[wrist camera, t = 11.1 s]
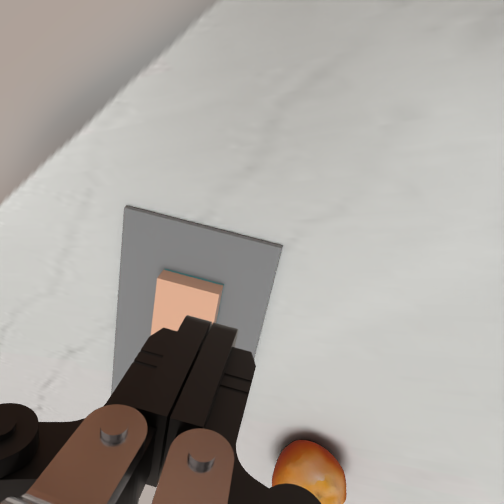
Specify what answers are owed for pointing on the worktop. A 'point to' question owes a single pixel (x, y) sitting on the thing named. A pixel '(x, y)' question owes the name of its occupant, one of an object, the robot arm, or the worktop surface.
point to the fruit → (311, 471)
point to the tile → (184, 299)
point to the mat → (192, 263)
